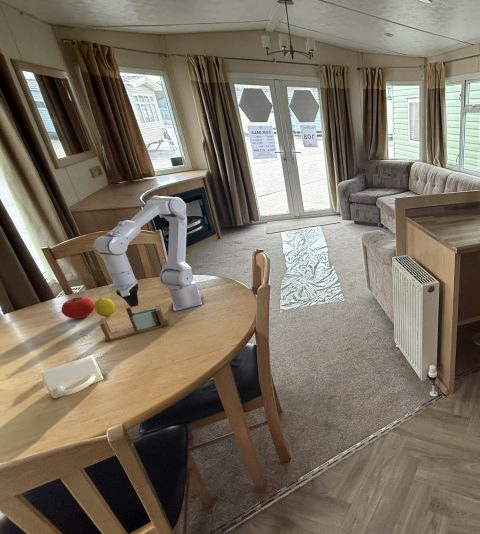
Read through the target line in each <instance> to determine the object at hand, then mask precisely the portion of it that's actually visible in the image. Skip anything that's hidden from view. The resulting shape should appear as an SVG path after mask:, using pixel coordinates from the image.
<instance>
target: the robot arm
mask: <svg viewBox="0 0 480 534" xmlns="http://www.w3.org/2000/svg"><path fill="white" fill-rule="evenodd" d="M145 202H146V203H145V205H144V206H143V207H142V208H141V209H140V210H139V211H138V212H137V213H136V214H135V215H134V216H133V217H132V218H131V219H130V220H122V221H119V222H118V223H117V225H116V226H115V227H114V228H112V230H110V231H108V232H106V234H105V235H101V236H98V237H96V239H95V240H94V241H93V244H92V245H93V246H92V250H93V251H94V252H95V253H96V254H98V255H99V256H100V258H102V260H103V263H104V265H105V267H106V270H107V272H108V274H109V277H110V280H111V282H112V283H110V284H109V288H110V289H116V291H115V293H116V295H117V296H119V297H120V298H121V299H123V300H124V301H125V302H126V303H127V305H128V306H129V307H130V308H135V307H138V306H139V297H138V291H139V283H138V279H137V278H136V277H135V275H134V271H133V269H132V266H131V264H130V261H129V258H128V255H127V254H126V252H127V250H128V246H129V245H130V243H131V242H132V241H133V240H134V239H135V238H136V237H137V236H139V235H140V234H141V232H142V227H143V226H145V225H146V224H147V223H149V222H150V221H151V220H153V219H154V218H155V217H157V216H161V217H163V218H164V219H165V220H167V222H168V224H169V225H168V226H169V227H168V245H167V248H168V249H167V262H166V263H164V264H163V265H162V266H161V272H160V273H159V276H158V277H159V281H160V283H161V284H163V285H165V287H166V288H167V289H168V292H169V295H170V297H171V300H172V309H173V311H174V312H177V311H181V310H185V309H189V308H194V307H197V306H200V305H203V301H202V295H201V293H200V292H199V288H198V285H197V281H194V274H193V272H192V267H191V266H190V265H189V264H188V263H187V262H186V255H187V253H186V252H187V251H186V250H187V233H188V231H187V229H188V217H187V203H186V202H185V201H184V200H183V199H182V198H180V197H177V196H175V197H173V196H159V195H153V196H151V197H150V198H149V199H148V200H146V201H145Z"/></svg>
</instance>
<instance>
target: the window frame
mask: <svg viewBox="0 0 480 534" xmlns="http://www.w3.org/2000/svg"><path fill="white" fill-rule="evenodd" d="M151 311H154V312H155V314H156V317H157V320H158V322H159V325H157V326H152V327H148V328H144V329H140V330H137V331H135V330H134V328H133V326H132V327H127V328H125V329H120V330H116V331H113V332H112V330H111V328H110V326H109V323H108V321H107V320H106V318H105V317H103V318H100V322H99V327H100V329H101V330H102V332H103V335H104V338H105V339H106V341H107V342H111V341H115V340H118V339H123V338H126V337H130V336H134V335H138V334H142V333H145V332H149V331H153V330H157V329H160V328H164V327H166V319H165V317H164V314H163V311H162V309H161V306H160V305H155V307H152V308H149V309H145V310H140V311H136V312H132V314H133V316H134V315H138V314H142V313H146V312H151Z"/></svg>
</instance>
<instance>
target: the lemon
mask: <svg viewBox="0 0 480 534" xmlns="http://www.w3.org/2000/svg"><path fill="white" fill-rule="evenodd" d="M94 311H95V313H96V314H97V315H99V316H101V317H107V318H108V317H111V316H112V315H113V314H114V313H115V312H116V305H115V303H114V302H113V301H112V299H109V298H105V297H104V298H103V297H101V298H99V299H97V300H96V301H95V302H94Z"/></svg>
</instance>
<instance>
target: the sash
mask: <svg viewBox="0 0 480 534" xmlns="http://www.w3.org/2000/svg"><path fill="white" fill-rule="evenodd" d="M125 310H126V313H127V314H128V318H129V321H130V323H131V326H132V327H133V328H134V330H135V331H137V330H140V329H144V328H148V327H152V326H157V325H159V322H158V320H157V317H156V314H155V312H154V311H151V312H146V313H142V314H138V315H134V316H133V314H132V313H133V311H132V309H131V307H130V306H129V307H126V308H125Z"/></svg>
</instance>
